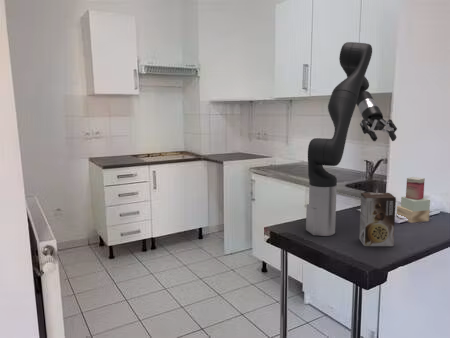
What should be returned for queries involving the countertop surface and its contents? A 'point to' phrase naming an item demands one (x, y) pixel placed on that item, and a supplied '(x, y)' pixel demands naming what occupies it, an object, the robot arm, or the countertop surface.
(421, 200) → the sage top block
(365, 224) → the cookie box
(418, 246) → the countertop surface
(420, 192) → the small box
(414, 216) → the oak base block
